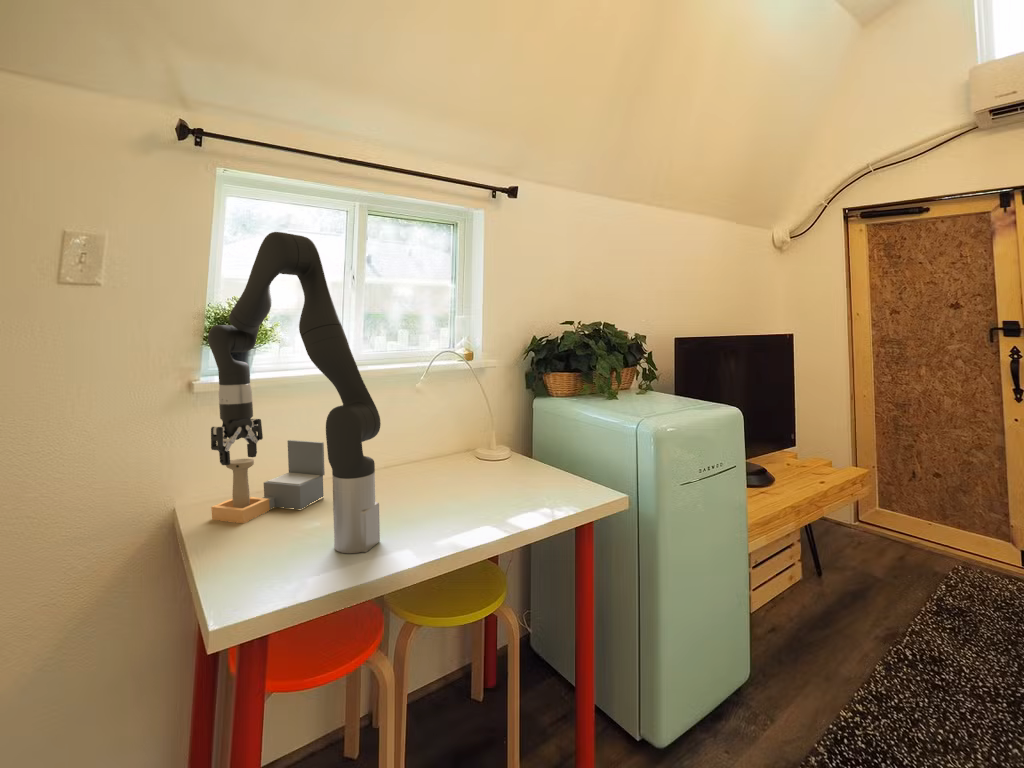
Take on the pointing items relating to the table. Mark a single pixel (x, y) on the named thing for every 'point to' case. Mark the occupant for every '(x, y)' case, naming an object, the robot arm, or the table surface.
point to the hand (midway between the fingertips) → (239, 460)
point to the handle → (240, 481)
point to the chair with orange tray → (284, 485)
